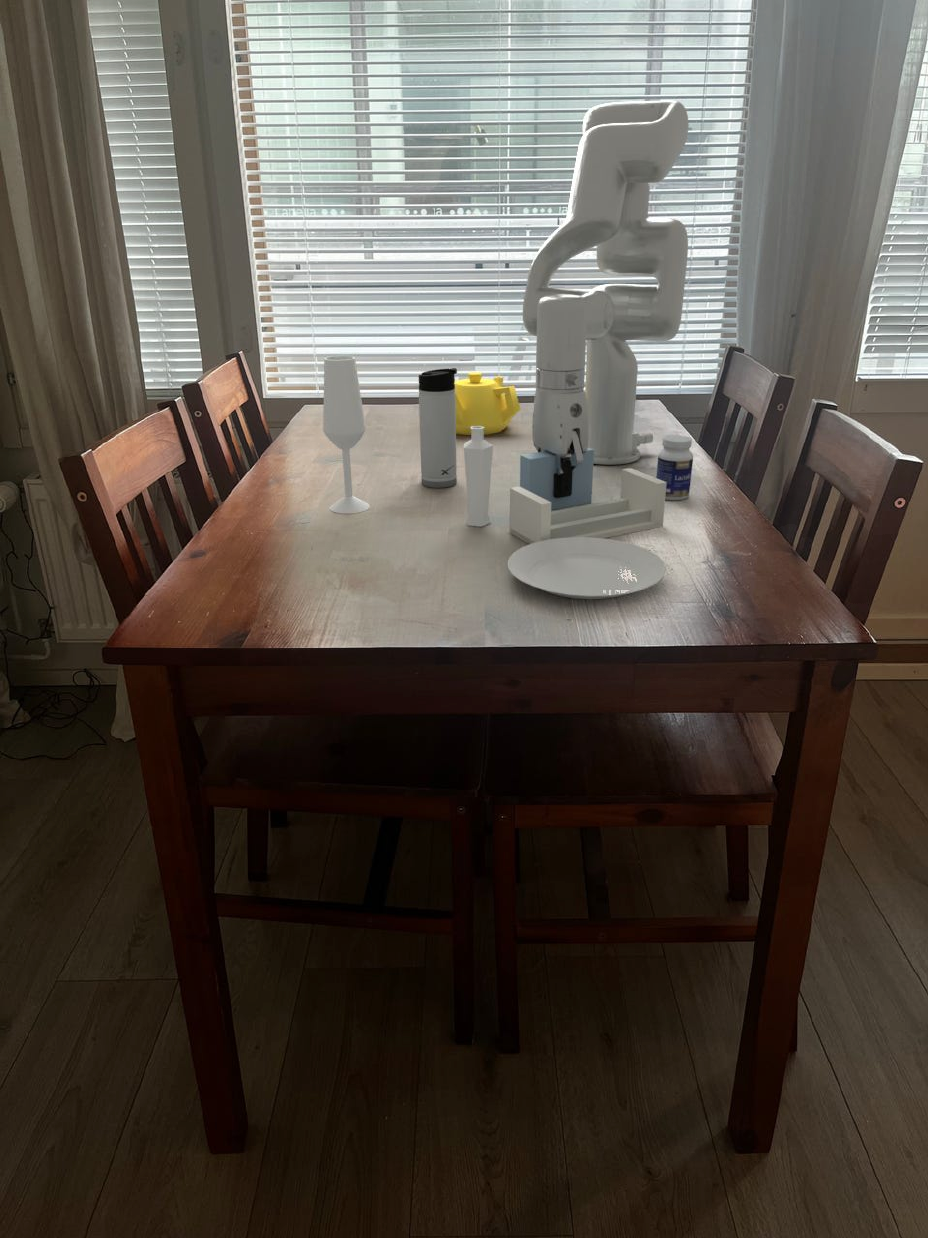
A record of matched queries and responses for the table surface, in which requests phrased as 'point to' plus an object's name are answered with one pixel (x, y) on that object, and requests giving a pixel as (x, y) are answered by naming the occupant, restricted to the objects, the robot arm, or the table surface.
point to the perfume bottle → (478, 476)
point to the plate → (586, 567)
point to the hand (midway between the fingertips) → (556, 492)
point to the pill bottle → (675, 466)
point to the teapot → (484, 404)
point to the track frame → (590, 512)
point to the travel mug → (438, 428)
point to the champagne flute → (343, 420)
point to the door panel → (540, 478)
